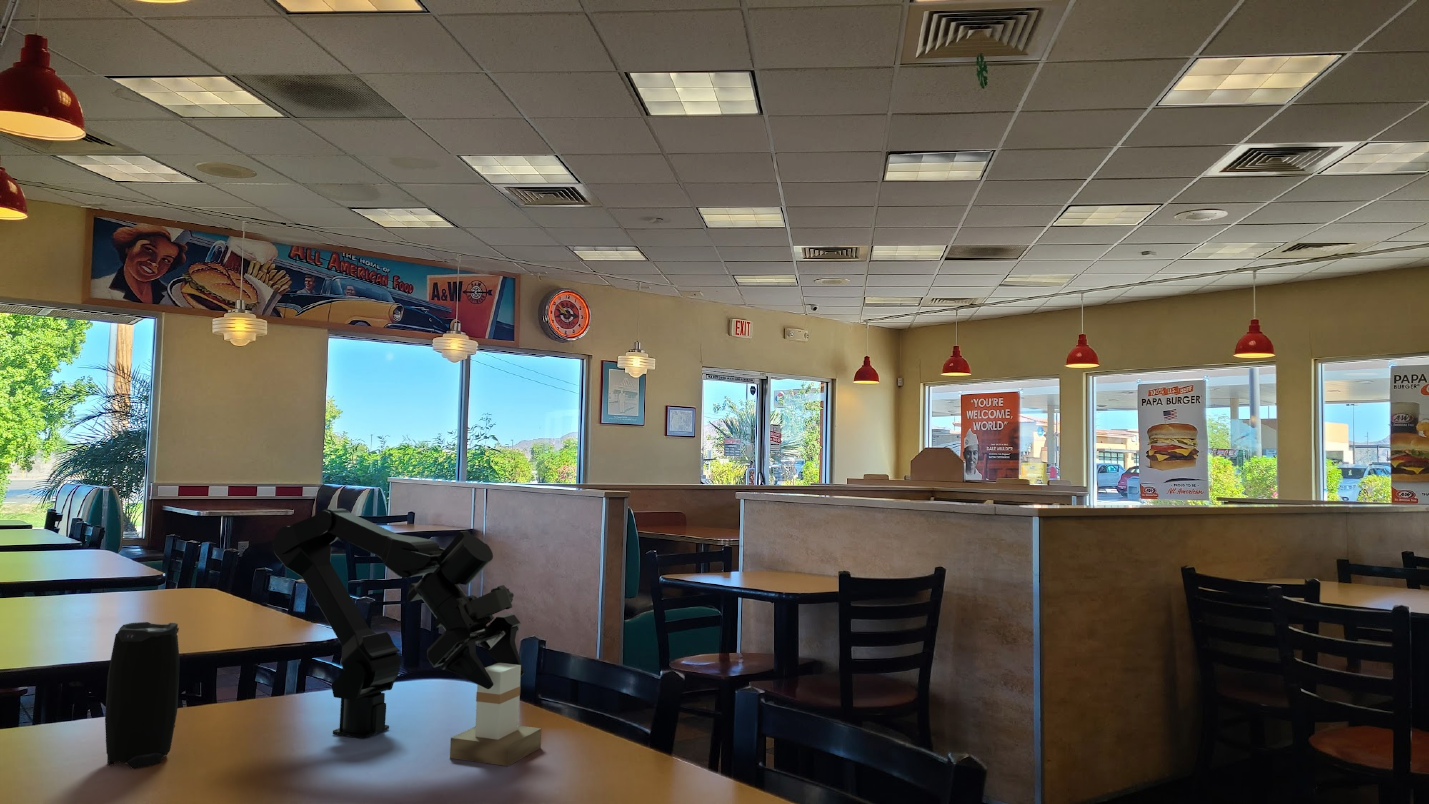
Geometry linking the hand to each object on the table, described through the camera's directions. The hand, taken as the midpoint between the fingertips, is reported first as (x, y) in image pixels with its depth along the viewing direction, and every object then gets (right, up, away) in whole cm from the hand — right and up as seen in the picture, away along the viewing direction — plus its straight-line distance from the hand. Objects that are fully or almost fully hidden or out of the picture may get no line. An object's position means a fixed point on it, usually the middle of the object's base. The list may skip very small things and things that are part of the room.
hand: (507, 681), depth 146 cm
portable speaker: (-52, -9, -9) cm, 53 cm away
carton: (-2, -8, 0) cm, 8 cm away
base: (-2, -11, 0) cm, 11 cm away
